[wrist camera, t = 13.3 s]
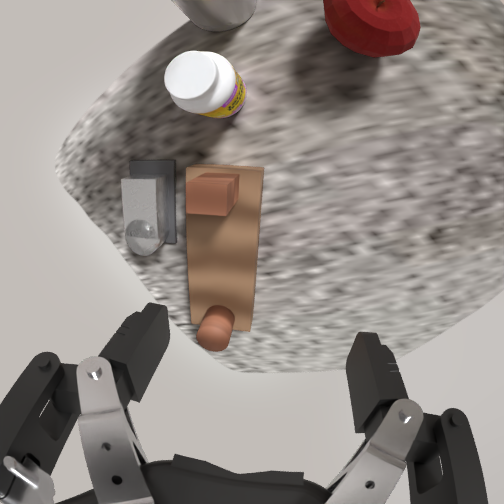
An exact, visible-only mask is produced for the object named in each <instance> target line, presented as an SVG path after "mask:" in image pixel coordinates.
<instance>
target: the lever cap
mask: <svg viewBox="0 0 504 504" xmlns="http://www.w3.org/2000/svg"><path fill="white" fill-rule="evenodd" d="M121 189H122V205H123V218H124V229H125V238H126V241H127V244H128V246H129V247H130V248H131V249H132V250H133V251H134V252H135V253H137V254H139V255H143V256H147V255H150V254H152V253H153V252H154V251H155V250H156V249H157V248H158V247H159V246H161V245H162V244H163V243H164V242H165V241H166V239H167V238H168V236H169V202H168V174H134V175H131V176H128V177H126V178H123V179H121Z"/></svg>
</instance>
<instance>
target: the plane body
mask: <svg viewBox="0 0 504 504" xmlns="http://www.w3.org/2000/svg"><path fill="white" fill-rule="evenodd" d="M263 177H264V168H262V167H249V166H233V165H212V164H195V165H192V166H189V167H186V233H187V260H188V280H189V296H190V310H191V323H192V324H199V325H200V327H199V330H198V332H197V335H196V338H197V341H198V343H199V344H200V345H201V346H202V347H203V348H205V349H207V350H210V351H215V352H218V351H222V350H224V349H226V348H227V346H228V344H229V340H230V337H231V333H232V329H233V330H240V331H248V332H250V329H251V324H252V318H253V309H254V297H255V284H256V271H257V258H258V245H259V231H260V218H261V204H262V191H263Z"/></svg>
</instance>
